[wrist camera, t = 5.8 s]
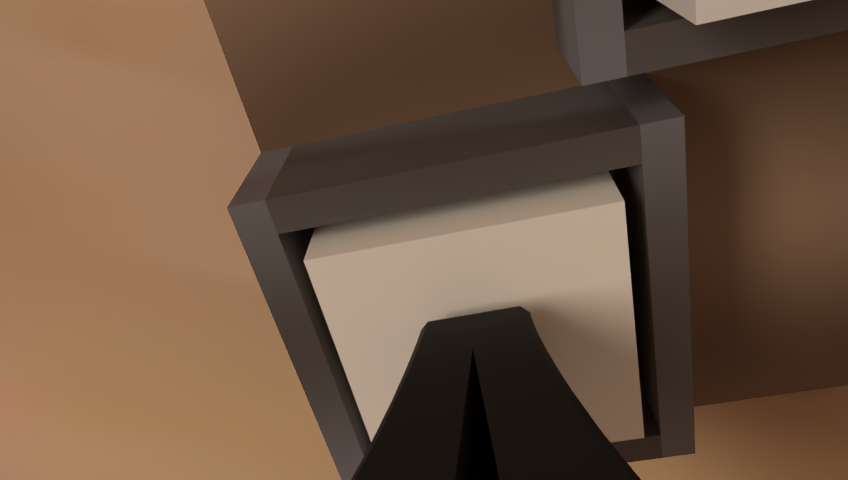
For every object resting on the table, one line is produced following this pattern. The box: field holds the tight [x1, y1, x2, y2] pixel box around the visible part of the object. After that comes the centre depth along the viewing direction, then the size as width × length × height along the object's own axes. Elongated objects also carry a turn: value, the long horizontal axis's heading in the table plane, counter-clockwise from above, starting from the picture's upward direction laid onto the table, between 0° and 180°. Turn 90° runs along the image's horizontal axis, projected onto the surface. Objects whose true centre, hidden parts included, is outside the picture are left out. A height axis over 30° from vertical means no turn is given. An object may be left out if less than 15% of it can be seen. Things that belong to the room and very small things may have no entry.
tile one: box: [304, 171, 644, 442], centre depth 10 cm, size 4×4×2 cm
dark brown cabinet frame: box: [204, 0, 848, 480], centre depth 9 cm, size 13×15×3 cm
